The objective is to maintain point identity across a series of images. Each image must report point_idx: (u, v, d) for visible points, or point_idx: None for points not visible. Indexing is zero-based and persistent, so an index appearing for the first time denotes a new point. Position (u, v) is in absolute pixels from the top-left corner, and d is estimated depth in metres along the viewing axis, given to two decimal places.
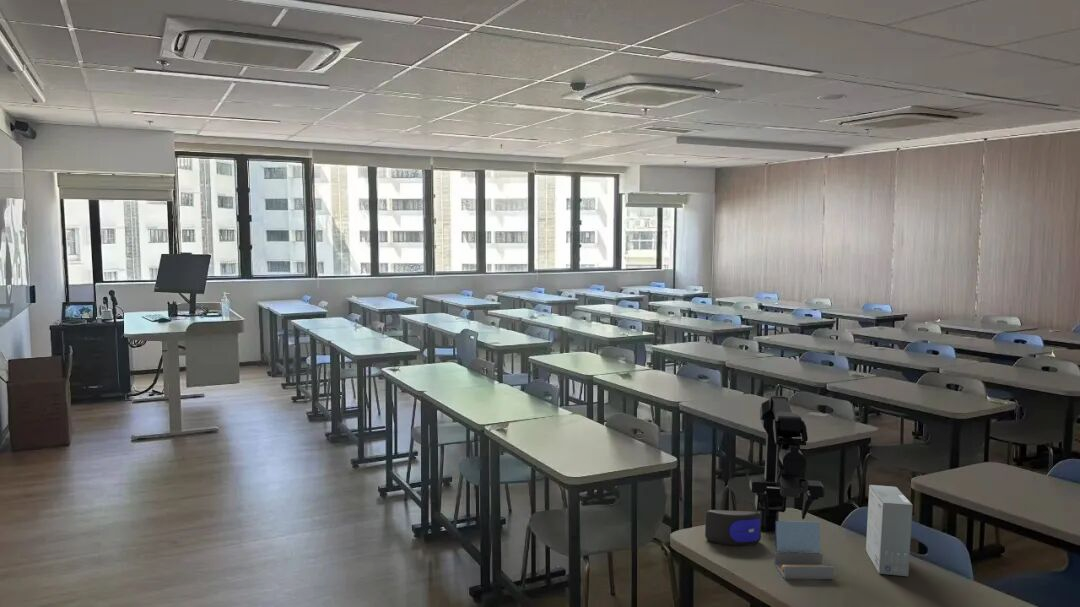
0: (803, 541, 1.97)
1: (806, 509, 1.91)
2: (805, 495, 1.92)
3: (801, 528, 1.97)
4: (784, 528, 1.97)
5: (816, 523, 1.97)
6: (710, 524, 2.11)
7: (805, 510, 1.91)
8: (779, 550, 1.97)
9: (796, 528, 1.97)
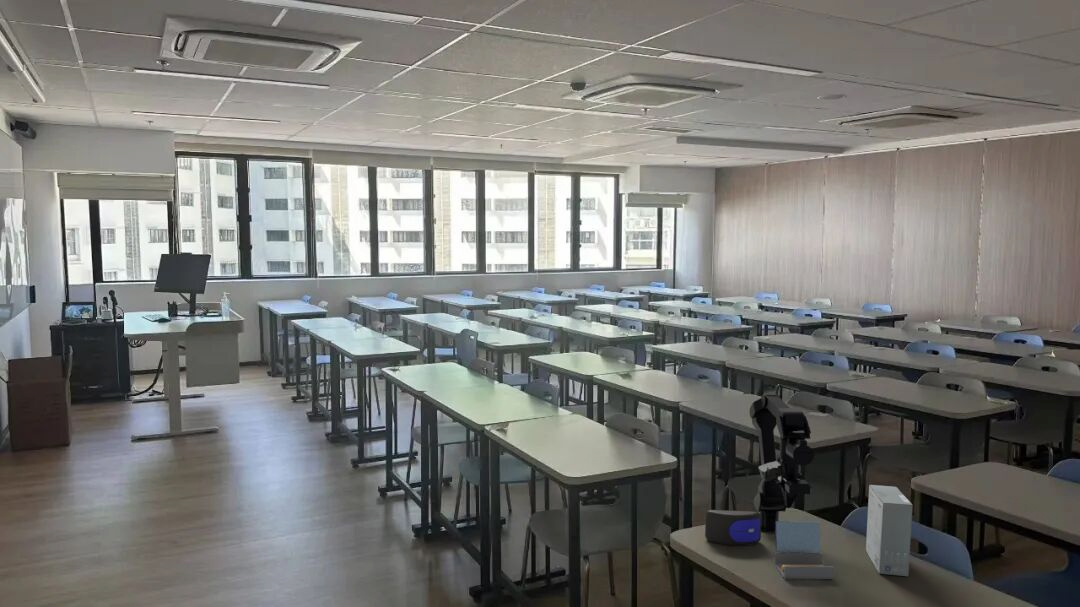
0: (803, 541, 1.97)
1: (785, 498, 2.04)
2: None
3: (801, 528, 1.97)
4: (784, 528, 1.97)
5: (816, 523, 1.97)
6: (710, 524, 2.11)
7: (785, 498, 2.04)
8: (779, 550, 1.97)
9: (796, 528, 1.97)
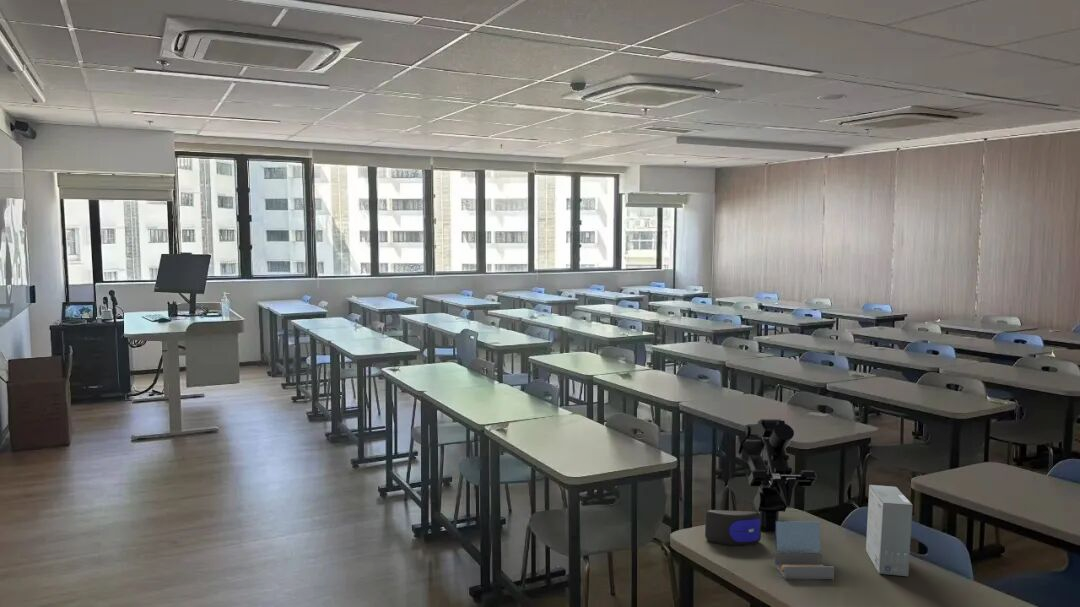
0: (803, 541, 1.97)
1: None
2: None
3: (801, 528, 1.97)
4: (784, 528, 1.97)
5: (816, 523, 1.97)
6: (710, 524, 2.11)
7: None
8: (779, 550, 1.97)
9: (796, 528, 1.97)
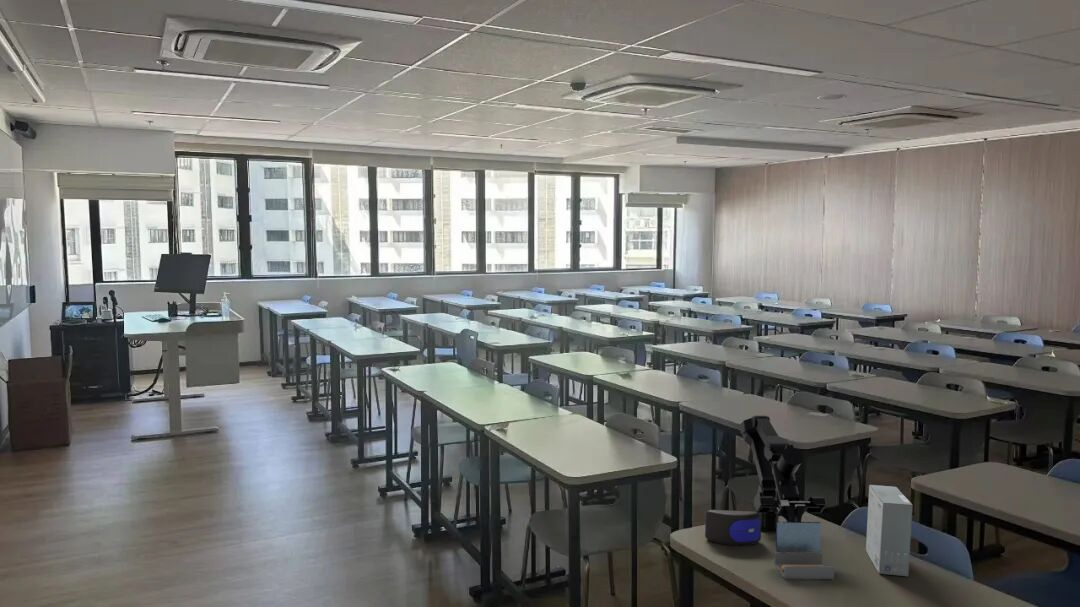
0: (803, 541, 1.97)
1: None
2: None
3: (802, 529, 1.96)
4: (785, 529, 1.96)
5: (817, 524, 1.96)
6: (710, 524, 2.11)
7: None
8: (779, 550, 1.97)
9: (797, 529, 1.96)
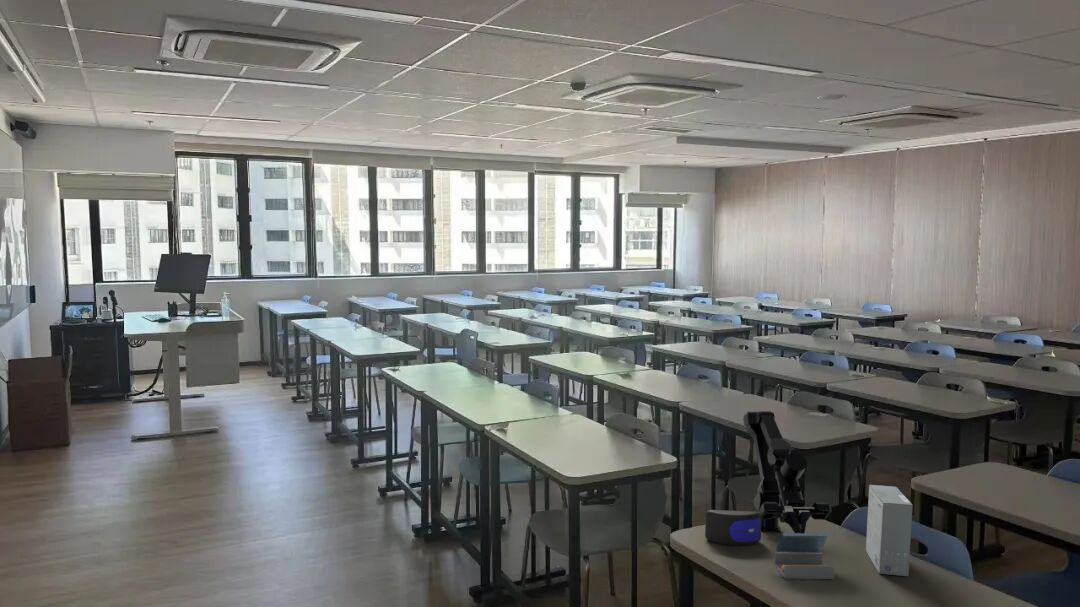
0: (806, 546, 1.95)
1: None
2: None
3: (807, 539, 1.93)
4: (790, 539, 1.93)
5: (824, 536, 1.92)
6: (710, 524, 2.11)
7: None
8: (779, 551, 1.96)
9: (802, 539, 1.93)
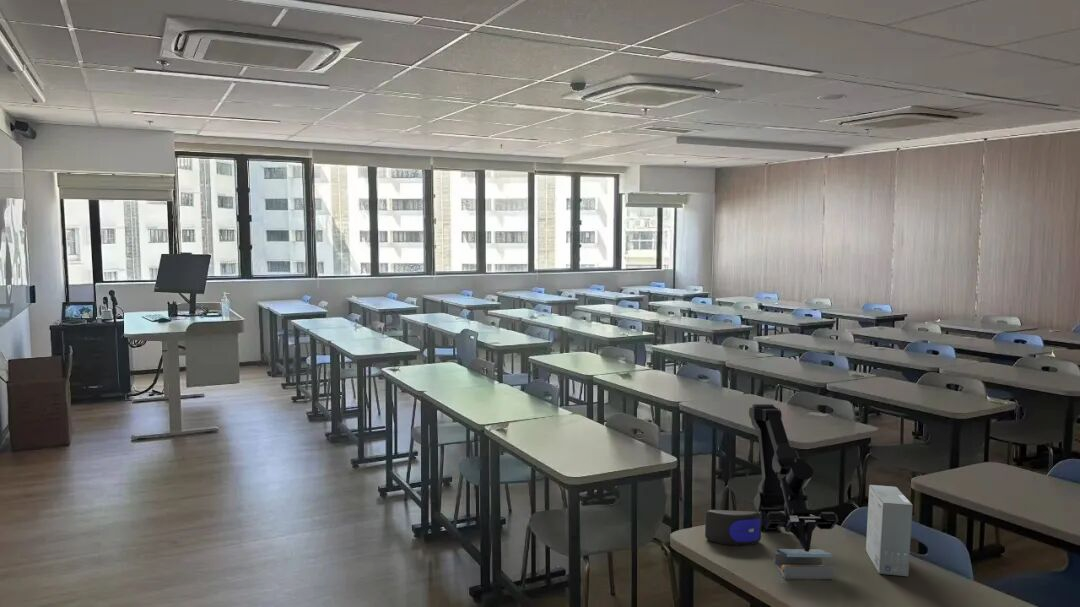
0: None
1: None
2: None
3: None
4: None
5: (828, 556, 1.89)
6: (710, 524, 2.11)
7: None
8: None
9: None
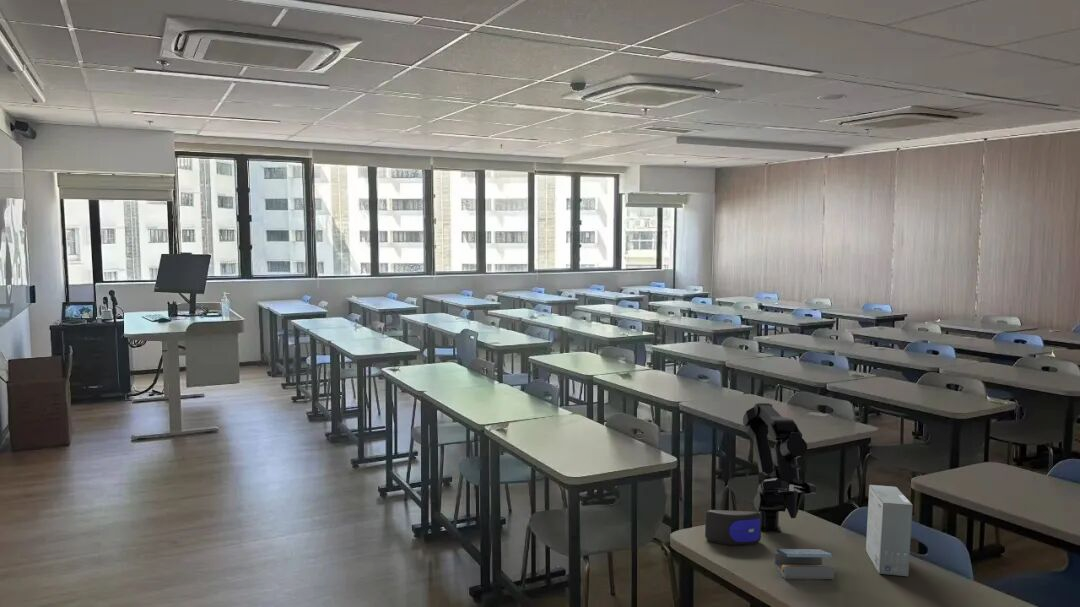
0: None
1: None
2: None
3: None
4: None
5: (828, 556, 1.89)
6: (710, 524, 2.11)
7: None
8: None
9: None
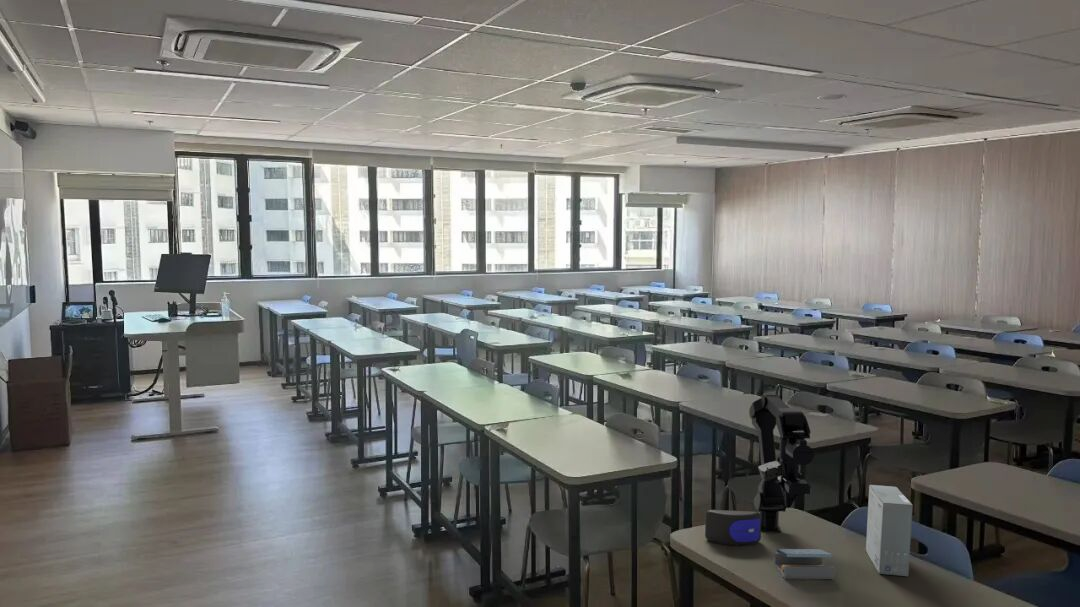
0: None
1: (785, 497, 2.04)
2: None
3: None
4: None
5: (828, 556, 1.89)
6: (710, 524, 2.11)
7: (785, 498, 2.04)
8: None
9: None
